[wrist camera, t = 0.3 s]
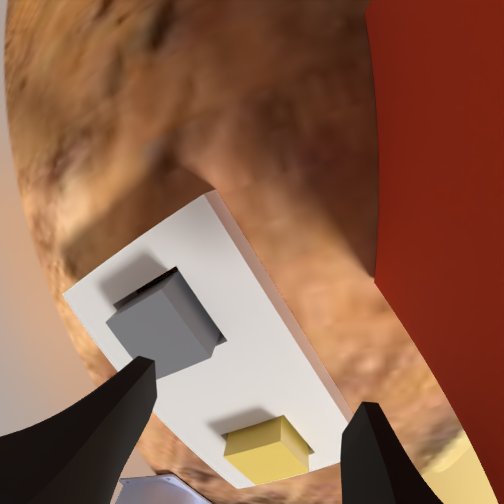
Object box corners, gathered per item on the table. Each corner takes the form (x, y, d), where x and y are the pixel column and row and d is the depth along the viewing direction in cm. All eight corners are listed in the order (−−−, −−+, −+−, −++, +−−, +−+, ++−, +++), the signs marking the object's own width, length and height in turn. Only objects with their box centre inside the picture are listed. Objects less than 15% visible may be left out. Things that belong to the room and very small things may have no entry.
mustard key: (259, 457, 22) (255, 485, 19) (229, 427, 21) (223, 456, 18) (307, 442, 21) (309, 471, 18) (281, 410, 20) (280, 441, 17)
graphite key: (167, 354, 20) (151, 381, 17) (127, 300, 19) (105, 322, 16) (221, 329, 19) (211, 357, 16) (179, 269, 18) (161, 289, 15)
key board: (241, 465, 25) (237, 488, 22) (85, 279, 21) (62, 294, 18) (360, 426, 22) (366, 451, 20) (215, 189, 18) (203, 193, 15)
